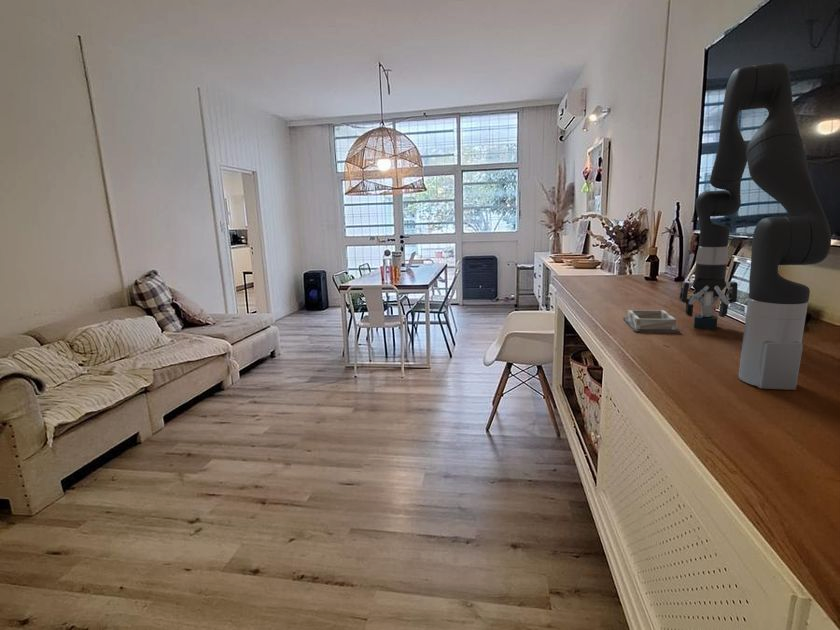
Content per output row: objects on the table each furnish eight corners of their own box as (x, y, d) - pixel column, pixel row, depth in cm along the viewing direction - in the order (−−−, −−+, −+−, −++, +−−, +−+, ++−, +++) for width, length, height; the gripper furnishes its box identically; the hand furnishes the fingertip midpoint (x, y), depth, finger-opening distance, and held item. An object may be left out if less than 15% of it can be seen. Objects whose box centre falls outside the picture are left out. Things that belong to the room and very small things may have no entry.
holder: (680, 333, 125) (681, 321, 125) (634, 332, 128) (635, 320, 127) (663, 319, 140) (664, 308, 140) (623, 319, 143) (623, 308, 142)
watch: (715, 324, 133) (719, 288, 130) (716, 330, 126) (720, 293, 124) (693, 322, 136) (696, 287, 133) (693, 329, 129) (697, 292, 126)
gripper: (688, 264, 125) (683, 319, 128) (745, 263, 121) (738, 319, 125) (679, 261, 132) (675, 313, 135) (733, 260, 128) (727, 313, 132)
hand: (705, 316), depth 130 cm, fingers open, 8 cm apart
